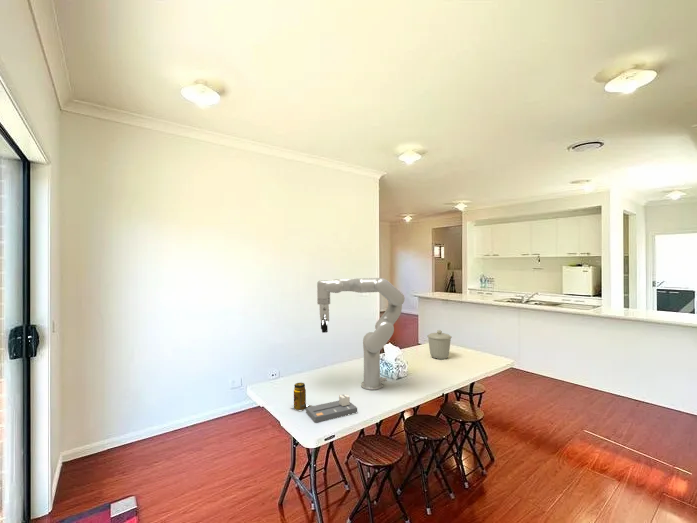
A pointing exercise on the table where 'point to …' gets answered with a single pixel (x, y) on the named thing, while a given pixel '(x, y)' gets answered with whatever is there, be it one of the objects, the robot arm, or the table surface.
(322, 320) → the robot arm
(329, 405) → the fader console
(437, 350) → the canister
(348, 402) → the fader knob
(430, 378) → the table surface
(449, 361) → the table surface
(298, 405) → the condiment
